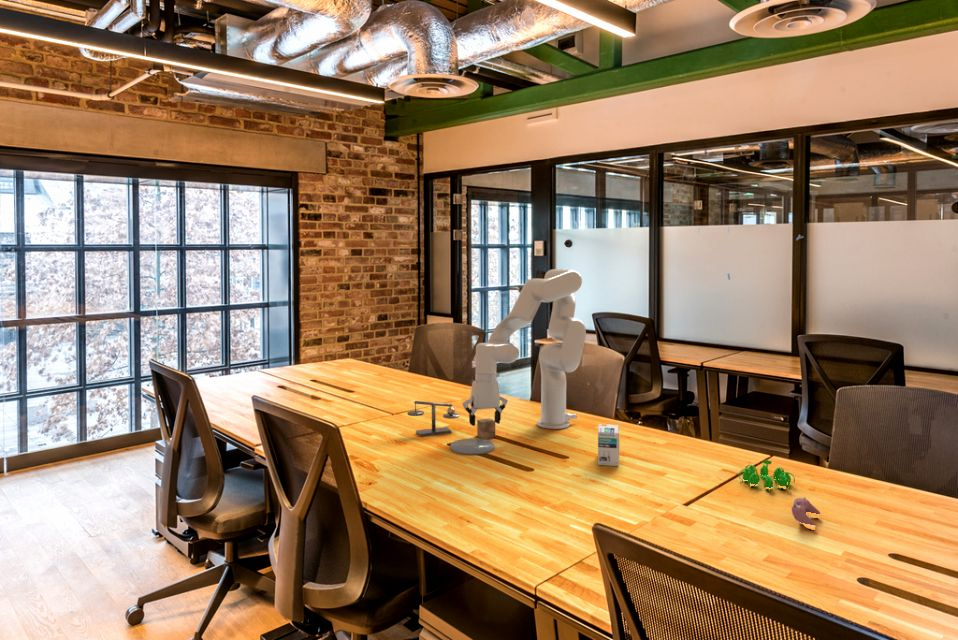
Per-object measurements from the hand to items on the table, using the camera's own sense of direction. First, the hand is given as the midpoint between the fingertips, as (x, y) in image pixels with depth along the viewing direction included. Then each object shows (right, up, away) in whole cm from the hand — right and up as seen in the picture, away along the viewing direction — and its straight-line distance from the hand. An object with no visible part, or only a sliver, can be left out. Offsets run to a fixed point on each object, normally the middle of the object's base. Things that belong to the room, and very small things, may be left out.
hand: (484, 423), depth 244 cm
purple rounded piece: (+79, -13, -76) cm, 110 cm away
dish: (-4, -6, -13) cm, 15 cm away
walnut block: (+1, -5, +1) cm, 5 cm away
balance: (-19, -4, +6) cm, 20 cm away
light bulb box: (+40, -8, -27) cm, 48 cm away
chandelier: (+81, -10, -48) cm, 95 cm away
